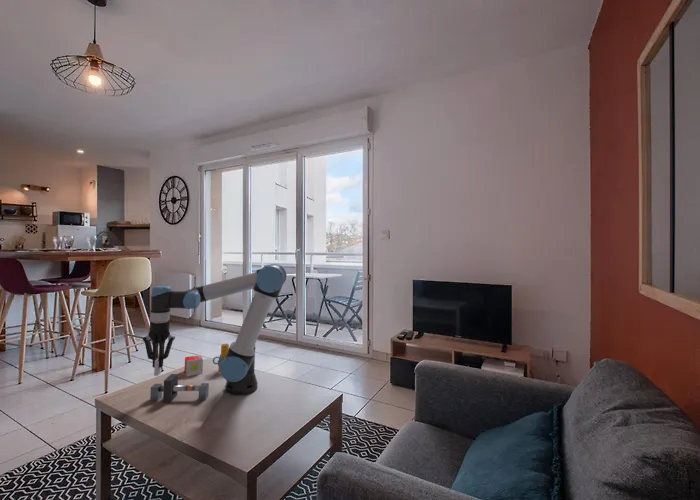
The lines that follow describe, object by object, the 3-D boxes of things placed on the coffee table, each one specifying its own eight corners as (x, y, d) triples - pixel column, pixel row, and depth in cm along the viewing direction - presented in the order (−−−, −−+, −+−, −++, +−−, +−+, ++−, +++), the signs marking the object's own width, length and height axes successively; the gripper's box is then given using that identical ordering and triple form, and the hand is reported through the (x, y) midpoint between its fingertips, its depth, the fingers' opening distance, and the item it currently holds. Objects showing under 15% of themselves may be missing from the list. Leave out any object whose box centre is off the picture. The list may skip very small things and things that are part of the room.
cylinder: (226, 376, 176) (227, 348, 176) (208, 374, 178) (210, 346, 178) (238, 368, 188) (239, 342, 188) (222, 366, 190) (223, 340, 190)
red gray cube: (186, 376, 174) (186, 361, 174) (184, 371, 181) (184, 357, 181) (202, 373, 179) (203, 359, 179) (200, 369, 185) (200, 355, 185)
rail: (209, 397, 151) (209, 381, 151) (204, 405, 144) (204, 388, 144) (155, 398, 148) (156, 382, 148) (148, 406, 141) (149, 389, 141)
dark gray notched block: (177, 394, 149) (178, 374, 149) (170, 402, 142) (171, 380, 142) (170, 394, 149) (171, 374, 149) (163, 402, 141) (163, 380, 141)
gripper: (178, 319, 149) (176, 371, 149) (148, 319, 148) (145, 371, 148) (172, 323, 142) (169, 377, 142) (139, 322, 140) (137, 377, 140)
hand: (157, 374), depth 145 cm, fingers closed
